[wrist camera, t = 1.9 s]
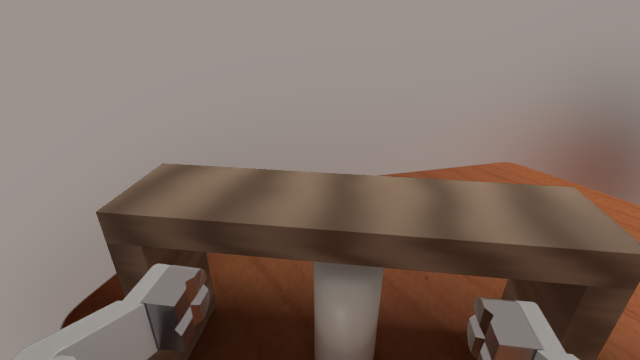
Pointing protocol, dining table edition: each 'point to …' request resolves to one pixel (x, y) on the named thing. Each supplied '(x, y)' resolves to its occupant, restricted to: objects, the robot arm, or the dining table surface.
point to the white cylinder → (346, 310)
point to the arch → (385, 236)
